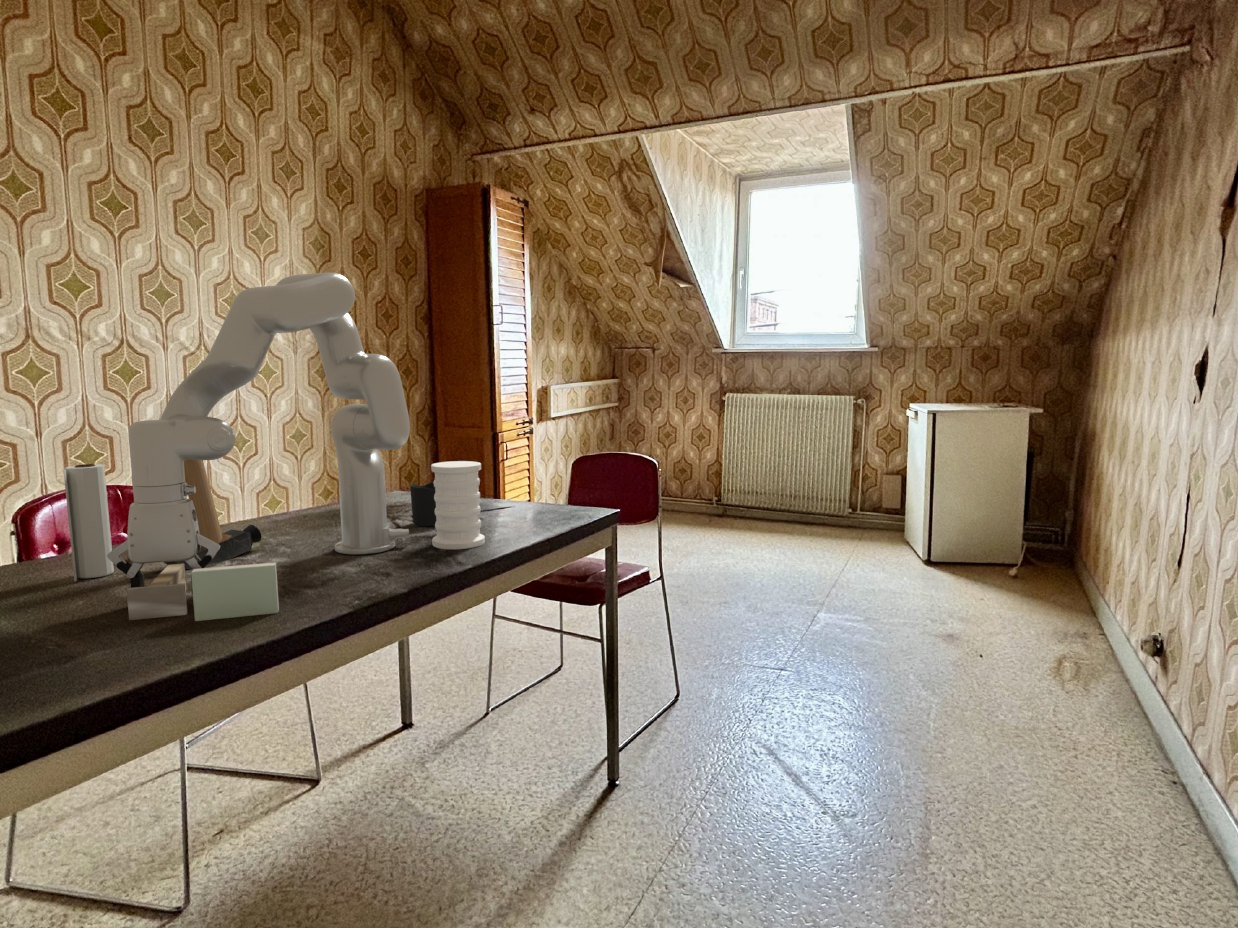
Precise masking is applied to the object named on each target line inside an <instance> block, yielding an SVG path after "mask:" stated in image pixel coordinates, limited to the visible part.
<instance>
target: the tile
mask: <svg viewBox="0 0 1238 928" xmlns="http://www.w3.org/2000/svg"><path fill="white" fill-rule="evenodd" d="M277 572H278V571H277V562H266V563H253V564H240V565H238V564H237V565H228V566H227V565H226V566H217V567H215V566H212V567H204V568H201V569H192V571H191V572H190V578H191V577H192V585H191V590H192V589H193V595H192V599H193V600H192V601H193V611H194V612H193V613H194V622H201V621H210V620H211V621H212V620H218V619H219V620H220V619H230V618H240V617H248V616H259V615H261V616H262V615H271V614H279V610H280V606H279V605H280V603H279V590H278V588H279V587H278V574H277Z"/></svg>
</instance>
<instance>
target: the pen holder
mask: <svg viewBox="0 0 1238 928" xmlns="http://www.w3.org/2000/svg"><path fill="white" fill-rule="evenodd" d="M409 487H410V490H409V491H410V500H411V501H410V502H411V515H412V522H413V523H412V524H413V525H414V526H416V527H422V528H424V527H425V528H435V523H436V515H435V512H434V511H435V508H436V501H435V499H434V494H435V487H434V481H432V482H429V483H426V484H423V485H417V484H410V485H409Z"/></svg>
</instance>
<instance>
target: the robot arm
mask: <svg viewBox="0 0 1238 928" xmlns="http://www.w3.org/2000/svg"><path fill="white" fill-rule="evenodd" d="M355 293H356V292H355V289H354V286H353V284H352V282H350V280H349V279H348V278H347V277H345V276H344V275H342V274H341V273H337V272H330V271H329V272H317V273H305V274H304V273H301V274H295V275H289V276H285V277H284V278H281V279H280V280H279V281H278V282H277V284H276V285H266V286H264V285H263V286H255V287H254V286H253V287H249V288H245V289H243V290H242V291H240V292H239V293H238V294H237V295H236V297H235V299H234V300H233V302H232V304H231V306H230V308H229V310H228V312H227V315H226V316H225V319H224V320H223V324H222V325H221V328H220V329H219V332H218V334H217V336H216V338H215V340H214V342H213V343H212V347H211V349H210V350H209V352H208V354H207V356H206V357H205V359H203V360H202V361H201V362H200V363H199V364H198V365H197V366H196V367H195V368H194V369H193V370H192V371H191V372H190V373H189V374H188V375H187V376H186V377H185V378H184V379H183V381H182V382H181V383H180V384H179V385H178V386H177V387H176V389H175V390H174V392H173V393H172V394H171V396H170V398H169V400H168V401H167V404H166V405H165V408H164V410H163V412H162V414H161V417H160V419H149V420H148V419H147V420H139V421H135V422H132V423H131V424H130V425H129V427H128V430H127V432H128V433H127V434H128V446H129V457H130V468H131V479H132V490H133V502H132V503H131V504H130V505H129V510H128V517H127V519H128V520H127V539H126V540H125V541H124V542H122V543H120V544H119V545H118V546H116V547H115V548H113V549H112V551H111V552H110V553H108V554H107V557H108V559H109V560H110V561H111V562H112V563H113V565H115V566H116V568H117V569H118V570H119V571H121V572H122V573H123V574H125V575H126V576H127V578H128V579H129V581H130V588H136V587H145V579H144V573H142V572H141V570H142V568H143V566H144V565H145V564H153V563H155V564H156V563H164V562H170V561H182V560H185V561H186V562H187V563H188V564H189V565H190V567H191V568H192V569H191V570H193V569H201V568H206V567H207V566H208V565H207V564H208V563H209V562H210V561H211V560H212V559H213V557H214V556H215V554H216V553H217V552H218V550H219V549H220V545H219V544H217V543H216V542H214V541H212V540H210V539H208V538H206V537H204V536H202V535H200V534H199V527H198V521H197V516H196V511H195V507H194V504H193V501H192V499H189V498H188V495H190V494H195V493H196V488H195V486H190V485H188V484H186V482H185V473H184V461H185V460H203V461H215V460H219V459H222V458H224V457H226V456H227V455H229V453H230V452H232V450H233V449H234V446H235V444H236V433H235V431H234V429H233V428H232V426H231V425H230V424H229V423H228V422H226V421H225V420H223V419H220V418H218V417H217V418H216V417H214V416H213V417H212V416H209V414H210V412H211V411H212V410H213V409H214V407H215V406H216V405H217V404H218V403H219V401H221V400H222V399H223V398H224V397H226V396H227V395H229V394H231V393H232V392H234V391H236V390H237V389H239V388H242V387H244V386H245V385H247V384H249V383H250V382H252V381H253V380H254V379H255V378H256V377H257V375H259V373H260V369H261V367H262V365H263V364H264V360H265V358H266V356H267V353H268V352H269V349H270V347H271V346H272V343H273V341H274V338H275V336H276V334H286V333H296V332H299V331H304V330H307V329H309V330H310V332H311V333H312V335H313V336H314V338H315V341H316V344H317V348H318V351H319V352H318V353H319V355H320V359H321V363H322V367H323V371H324V376H325V379H326V383H327V387H328V389H329V391H330V392H331V394H332V395H333V396H335V397H336V398H339V399H345V400H357V401H358V400H359V401H364V400H365V402H366V403H351V404H346V405H343V406H342V407H340V408H338V409H337V410H336V411H335V412H334V414H333V416H332V417H331V422H330V432H331V436H332V440H333V441H332V442H333V444H334V445H333V446H334V447H335V453H336V457H337V458H336V459H337V469H338V488H339V491H338V492H339V493H338V494H339V508H340V510H339V511H340V512H339V513H340V527H341V528H340V529H341V541H338V542H337V543H335V544H334V551H335V552H337V553H338V554H343V555H369V554H370V555H371V554H377V553H383V552H386V551H389V550H392V549H393V548H395V546H396V540H395V539H408V538H409V539H410V530H409V528H405V529H404V528H395V529H394V528H391V527H390V525H389V523H388V518H387V517H388V515H387V496H386V495H387V491H386V473H385V472H386V471H385V464H384V461H383V458H382V455H381V453H380V451H394V450H399V449H400V448H402V447H403V446H404V445H405V444H406V443H407V441H408V439H409V438H410V437H409V436H410V431H411V424H410V422H411V421H410V416H409V411H408V407H407V406H408V405H407V401H406V396H405V392H404V391H405V390H404V386H403V382H402V379H401V375H400V373H399V370H398V368H397V366H396V364H395V363H394V362H393V361H392V360H391V359H390V358H389V357H387V356H385V355H384V354H380V353H365V351H364V347H363V344H362V340H361V337H360V333H359V329H358V328H357V325H356V323H355V320H354V319H353V317H352V316H351V314H350V313H349V312H350V311H351V310H352V309H353V307H354V304H355V300H356V294H355ZM201 545H202V546H204V547H206V548H207V549H208V553H207V554H206V556H205V557H204V558H203V559H202V560H201V559H200V558H199V557H198V556H197V554H196V553H198V552H199V551H200V549H201ZM126 551H127V553H128V554H127V555H128V559H129V561H130V562H132V563H130V562H128V561H127V560H126V559H124V558H123V557H122V554H123V553H124V552H126ZM190 582H191V586H192V577H191V576H190ZM191 595H192V596H193V589H192V588H191Z"/></svg>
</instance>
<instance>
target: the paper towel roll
mask: <svg viewBox="0 0 1238 928" xmlns="http://www.w3.org/2000/svg"><path fill="white" fill-rule="evenodd" d="M63 479H64V488H65V499H66V508H67V521H68V528H69V539H70V548H71V558H72V565H73V566H72V568H73V580H74V582H77V581H78V579H92V578H93V579H94V578H101V577H106V576H109V575H111V574H113V573H114V571H115V567H114V565H115V564H113V563H112V562H111V561H110V560H109V559H108V557H107V554H108V553H110V552H111V551H112V550H113V546H112V544H113V543H112V536H111V525H110V515H109V512H110V511H109V504H108V495H107V494H108V493H107V483H106V472H105V465H104V464H102V463H101V464H100V463H99V464H97V463H85V464H84V463H83V464H76V465H69V466H65V467H64V468H63Z"/></svg>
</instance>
